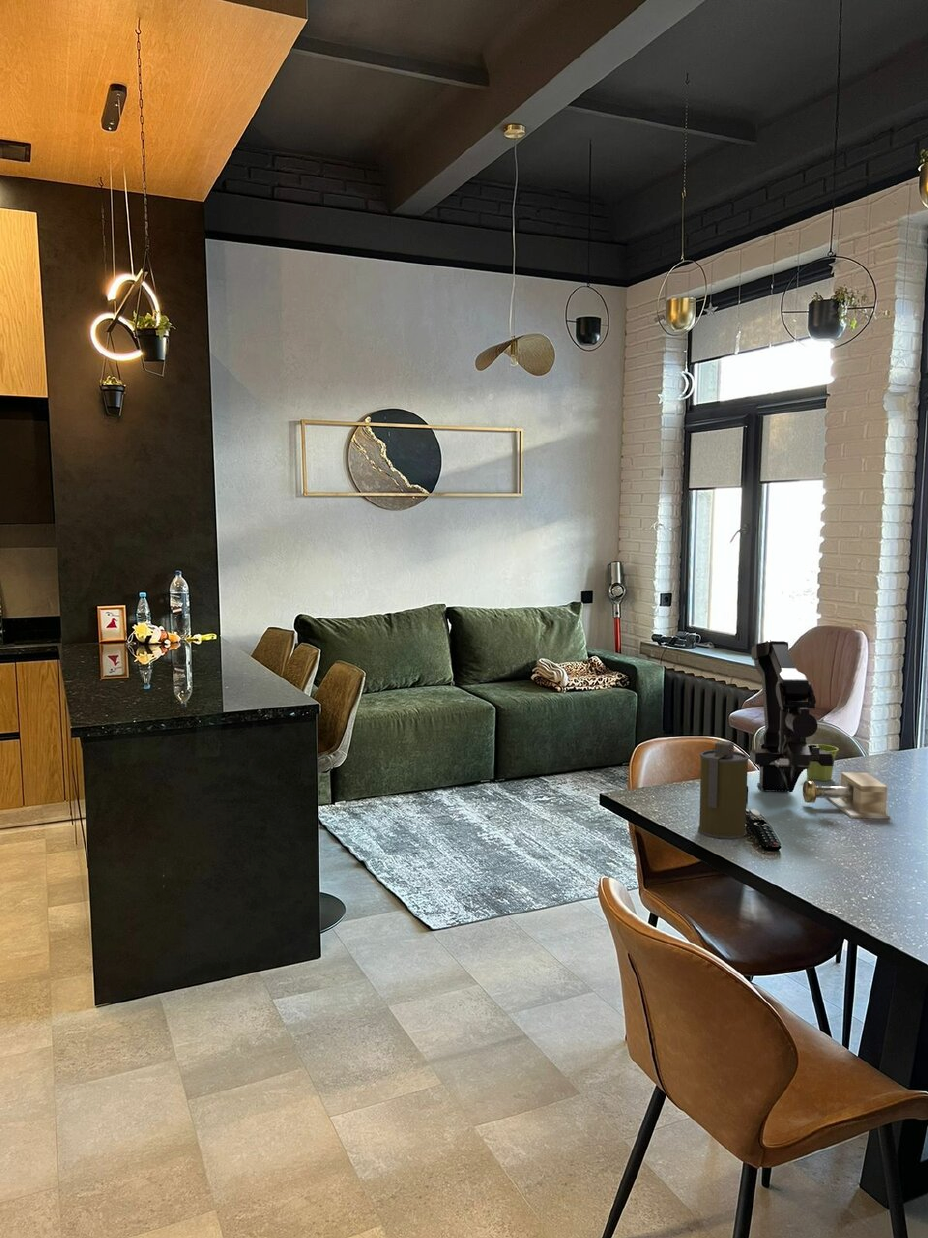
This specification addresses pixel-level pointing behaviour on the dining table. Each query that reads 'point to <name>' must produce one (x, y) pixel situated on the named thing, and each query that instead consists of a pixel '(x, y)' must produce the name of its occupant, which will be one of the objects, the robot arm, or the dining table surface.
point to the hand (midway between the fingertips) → (790, 792)
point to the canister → (723, 792)
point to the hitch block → (863, 796)
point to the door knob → (825, 792)
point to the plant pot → (821, 771)
